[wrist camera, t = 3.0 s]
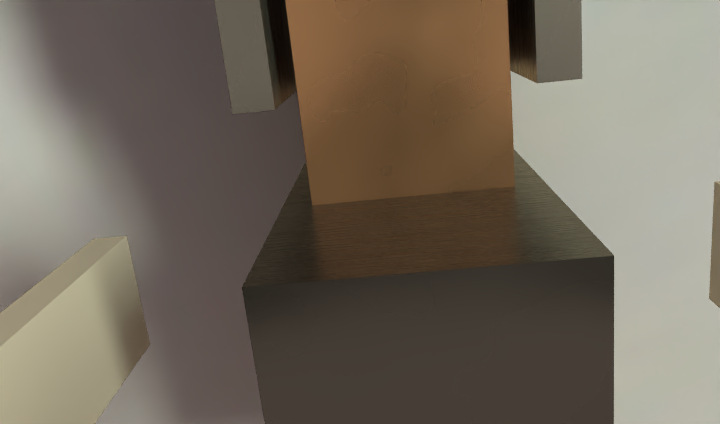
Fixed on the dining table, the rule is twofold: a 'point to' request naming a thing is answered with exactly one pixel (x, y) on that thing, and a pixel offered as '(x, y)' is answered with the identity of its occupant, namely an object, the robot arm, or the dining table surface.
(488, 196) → the tan wooden post
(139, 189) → the dining table surface
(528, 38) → the sleeve
